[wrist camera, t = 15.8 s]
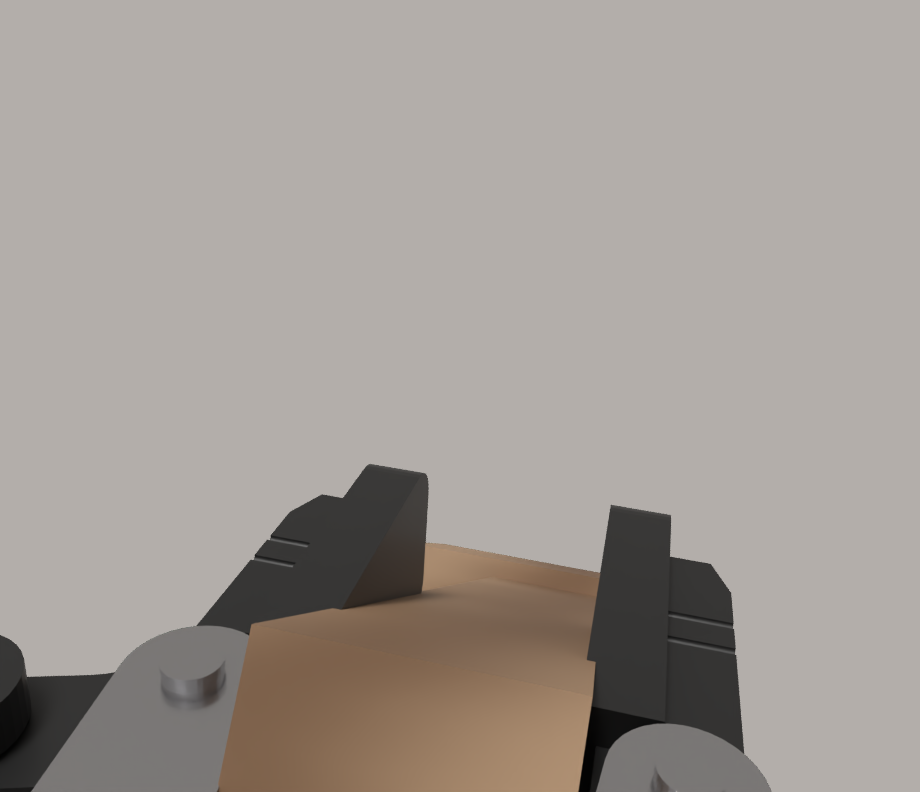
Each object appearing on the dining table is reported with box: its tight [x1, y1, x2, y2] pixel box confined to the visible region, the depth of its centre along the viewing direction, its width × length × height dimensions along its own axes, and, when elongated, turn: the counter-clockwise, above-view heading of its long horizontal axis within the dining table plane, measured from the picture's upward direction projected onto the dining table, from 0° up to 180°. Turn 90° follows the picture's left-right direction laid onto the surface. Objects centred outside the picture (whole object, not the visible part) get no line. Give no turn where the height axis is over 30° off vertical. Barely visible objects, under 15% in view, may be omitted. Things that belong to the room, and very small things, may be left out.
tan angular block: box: [218, 543, 600, 792], centre depth 16 cm, size 7×20×2 cm, turn 170°
